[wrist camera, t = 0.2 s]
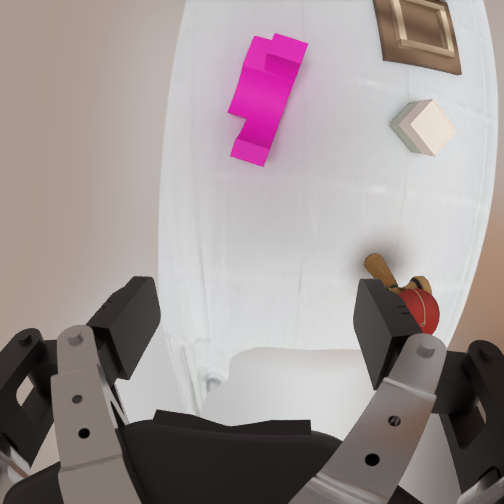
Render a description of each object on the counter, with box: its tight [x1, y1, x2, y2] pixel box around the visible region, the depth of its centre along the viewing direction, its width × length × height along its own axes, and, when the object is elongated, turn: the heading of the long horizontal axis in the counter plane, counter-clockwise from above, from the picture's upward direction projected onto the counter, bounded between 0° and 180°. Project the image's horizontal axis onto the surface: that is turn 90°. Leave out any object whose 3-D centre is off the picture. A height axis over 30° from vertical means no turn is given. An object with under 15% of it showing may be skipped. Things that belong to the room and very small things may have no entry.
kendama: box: [365, 254, 440, 335], centre depth 33 cm, size 8×6×18 cm
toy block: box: [228, 33, 308, 167], centre depth 31 cm, size 15×6×8 cm, turn 162°
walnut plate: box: [373, 0, 462, 75], centre depth 26 cm, size 13×13×3 cm
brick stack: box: [389, 99, 457, 156], centre depth 30 cm, size 5×5×7 cm
